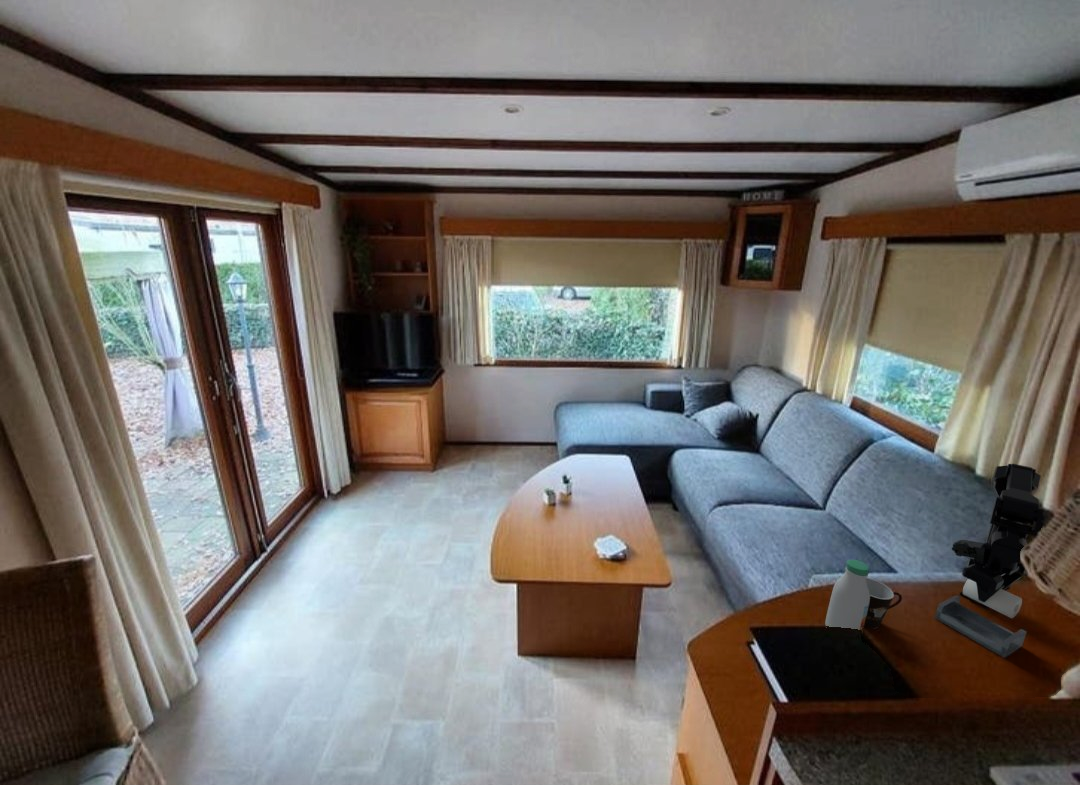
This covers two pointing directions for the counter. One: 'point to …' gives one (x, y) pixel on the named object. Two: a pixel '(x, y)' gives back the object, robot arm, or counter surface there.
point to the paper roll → (995, 599)
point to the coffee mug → (878, 602)
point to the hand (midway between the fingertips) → (987, 597)
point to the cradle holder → (979, 627)
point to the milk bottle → (850, 598)
